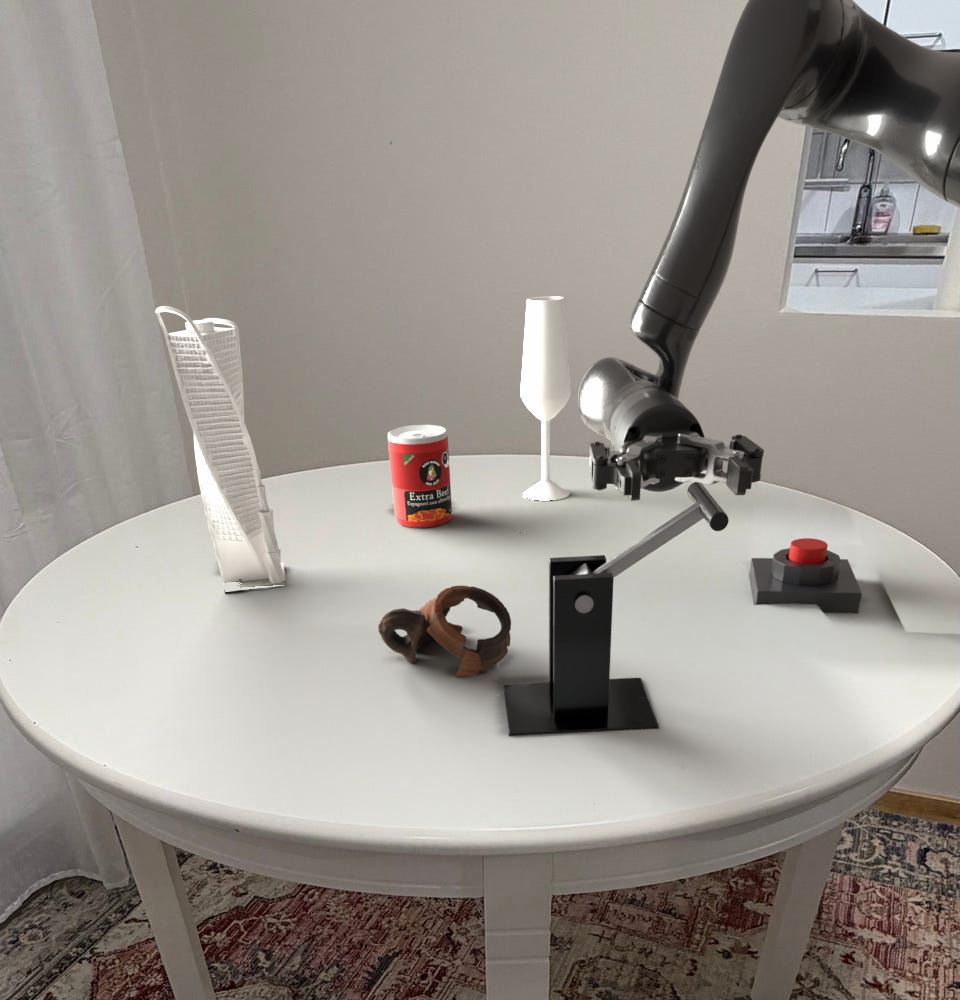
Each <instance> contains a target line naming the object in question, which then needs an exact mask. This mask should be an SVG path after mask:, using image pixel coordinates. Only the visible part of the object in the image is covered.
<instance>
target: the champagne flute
mask: <svg viewBox="0 0 960 1000" xmlns="http://www.w3.org/2000/svg"><path fill="white" fill-rule="evenodd" d="M565 302H566V300H565V297H564V296H559V295H557V296H556V295H544V296H542V295H541V296H534V297H533V296H532V297H527V299H526V307H525V321H524V322H525V323H524V334H523V335H524V336H523V351H522V352H523V353H522V365H521V380H520V394H519V395H520V398H521V400H522V402H523V404H524V405H525V407H526V408H527V410H528V411H530V412H531V414H532V415H533V416H535V418H537V420H540V422H541V425H540V426H541V427H540V429H541V433H540V434H541V435H540V437H541V439H540V441H541V442H540V443H541V447H540V449H541V454H540V455H541V479H540V481H538V482H537V483H536V484H534V485H532V486H531V487H529V488H528V489H527V490H525V491H523V492H522V494H523V496H522V498H524V499H526V498H528V499H527V500H529V499H530V500H529V501H534V500H539V501H538V502H551V501H550V500H553V501H559V500H562V499H565V498H567V497H569V496H570V491H568V490H567V489H565V488H564V487H562V486H561V485H558V484H557V483H556V482H554V481H552V480H551V420H553V419H554V418H555V417H557V415H558V414H559V413H560V412H561V411H562V410H564V408H565V407H566V405H567V403H568V401H569V399H570V397H571V394H572V389H571V388H572V387H571V373H570V359H569V345H568V344H569V343H568V329H567V314H566V303H565Z"/></svg>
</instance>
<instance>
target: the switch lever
mask: <svg viewBox="0 0 960 1000" xmlns="http://www.w3.org/2000/svg"><path fill="white" fill-rule="evenodd" d="M686 495H687V497H688V498H689V499H690V501H691V502H692V505H690V506H689V507H687V508H686V509H684V510H683V511H681V512H679V513H678V514H676V515H674V517H672V518H670V519H669V520H668V521H666V522H664V523H663V524H661V525H660V526H658V527H657V528H656V529H654V530H652V531H651V532H650V533H648V534H647V535H645V536H644V537H642V538H641V539H639V540H638V541H636V542H635V543H633V544H632V545H630V546H628V547H627V548H625V549H624V550H622V551H621V552H620V553H618V554H617V555H615V556H614V557H612V558H611V559H609V560H608V561H606V563H605V564H603V565H602V566H600V567H599V568H597V569H596V570H594V571H593V572H591V570H590V569H589V567H588V565H587V564H586V563H585V564H583V565H582V566H580V567H579V568H577V569H576V570H574V571H573V572H571V573H570V574H568V575H579V574H599V573H612V575H613V578H615V577H617V576H619V575H620V574H622V573H623V572H624V571H626V570H627V569H629V568H631V567H632V566H634V565H635V564H636V563H638V562H640V561H641V560H642V559H645V558H646V557H647V556H649V555H650V554H652V553H654V552H655V551H657V550H659V548H661V547H663V546H664V545H666V544H667V543H668V542H670V541H671V540H673V539H675V538H676V537H678V536H679V535H681V534H682V533H684V532H685V531H687V530H688V529H690V528H691V527H693V526H694V525H696V524H697V523H699V522H700V521H702V520H703V519H704V520H705V521H706V523H707V524H708V526H709V527H710V529H711V530H713V531H715V532H721V531H723V530H725V529H726V528H727V527H728V525H729V522H730V521H729V516H728V514H727V513H726V512H725V511H724V510H723V508H722V507H721V506H720V504H719V503H718V502H717V501H716V499H714V498H715V497H713V496H712V494H711V493H710V492H709V490H708V489H707V488H706V487H705V485H703V484H701V483H700V482H691V483H690V485H689V486H688V487H687V489H686Z"/></svg>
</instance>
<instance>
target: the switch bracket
mask: <svg viewBox="0 0 960 1000" xmlns="http://www.w3.org/2000/svg"><path fill="white" fill-rule="evenodd" d="M606 562H607V557H606V555H604V554H602V555H581V556H563V557H562V556H561V557H560V556H559V557H549V558H548V681H545V682H544V681H543V682H541V681H540V682H525V683H523V682H522V683H505V684H503V693H504V703H505V715H506V723H507V724H506V725H507V732H508V733H507V734H508V736H509V737H518V736H519V737H520V736H521V737H522V736H540V735H560V734H579V733H581V734H583V733H599V732H601V733H602V732H618V731H619V732H620V731H621V732H622V731H638V730H640V731H641V730H658V729H660V727H659V723H658V721H657V717H656V715H655V713H654V710H653V707H652V704H651V702H650V699H649V696H648V694H647V691H646V689H645V686H644V682H643V680H642V678H641V677H625V678H624V677H621V678H610V675H611V652H612V649H611V648H612V630H613V629H612V625H613V603H614V601H613V599H614V580H615V579H614V578H615V577H614V578H613V575H612V573H599V574H579V575H568V574H570V573H571V572H573V571H574V570H576V569H577V568H579V567H580V566H582V565H583V564H585V563H586V564H587V565H588V567H589V569H590V570H591V572H593V571H594V570H596V569H597V568H599V567H600V566H602V565H603V564H605V563H606Z"/></svg>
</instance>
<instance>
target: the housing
mask: <svg viewBox="0 0 960 1000" xmlns="http://www.w3.org/2000/svg"><path fill="white" fill-rule="evenodd" d="M789 551H790V547H789V548H783V549H780V550H778V551H776V552H775V553H773V555H772V557H752V558H751V561H750V567H749V568H750V569H749V575H748V576H749V577H748V578H749V583H750V589H751V597H752V602H753V605H754V606H762V605H763V606H764V605H782V604H783V605H784V604H785V605H789V604H790V605H816V606H817V607H818V608H819V610H820V611H821V612H822V613H823V614H859V611H860V605H861V601H862V596H863V593H862V590H861V588H860V585H859V583H858V581H857V579H856V576H855V573H854V571H853V568H852V565H851V564H850V561H849V559H848V558H841V557H840V555H839V554H837V553H836V552H833V551H831V550H829V549H827V552H826V558H825V562H824V563H821V564H816V565H812V564H799V563H794V562H791V561H789V560H788V558H789Z"/></svg>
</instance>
